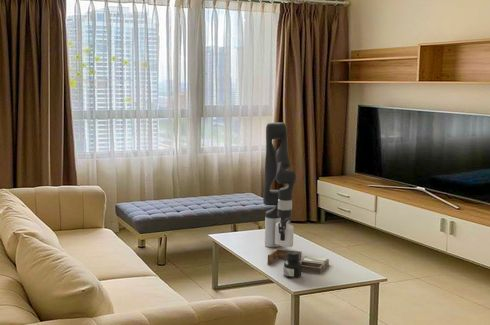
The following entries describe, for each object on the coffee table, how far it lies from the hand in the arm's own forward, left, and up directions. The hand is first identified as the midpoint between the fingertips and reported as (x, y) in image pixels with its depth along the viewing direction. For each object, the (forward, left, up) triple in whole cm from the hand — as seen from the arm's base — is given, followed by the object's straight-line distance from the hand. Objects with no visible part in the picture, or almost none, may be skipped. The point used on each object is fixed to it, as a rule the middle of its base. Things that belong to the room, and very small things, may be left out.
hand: (284, 239), depth 315 cm
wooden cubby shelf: (-2, 0, -13) cm, 13 cm away
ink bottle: (+17, +11, -14) cm, 24 cm away
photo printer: (0, 0, -4) cm, 4 cm away
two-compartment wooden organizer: (0, +16, -13) cm, 21 cm away
